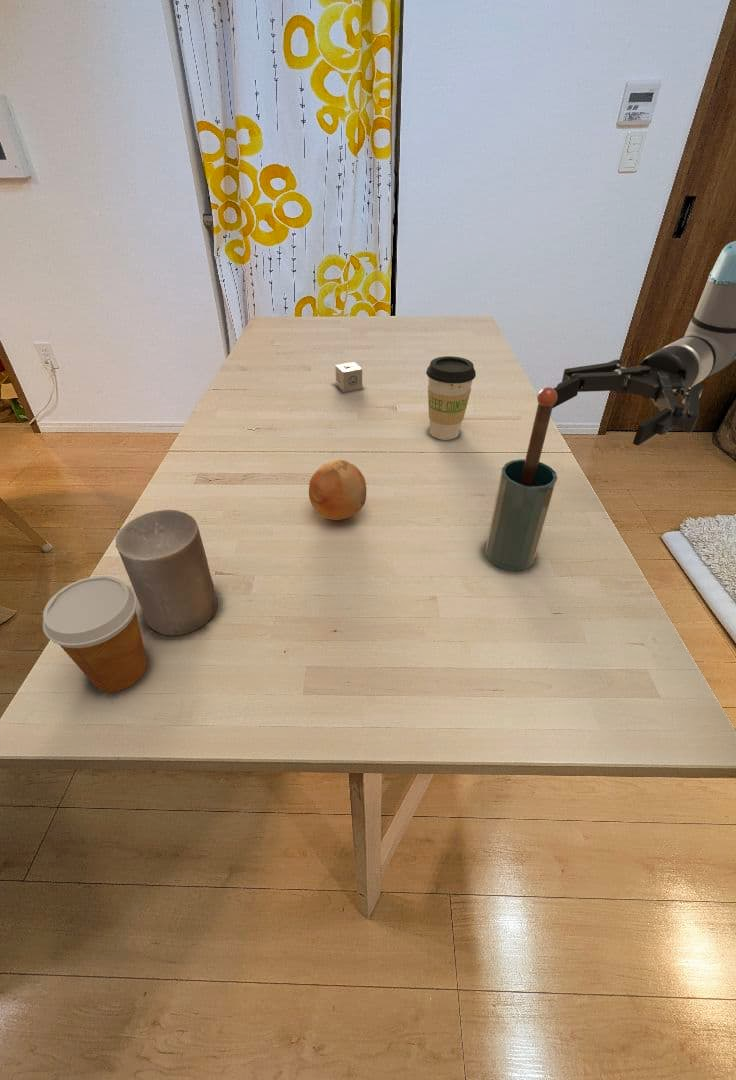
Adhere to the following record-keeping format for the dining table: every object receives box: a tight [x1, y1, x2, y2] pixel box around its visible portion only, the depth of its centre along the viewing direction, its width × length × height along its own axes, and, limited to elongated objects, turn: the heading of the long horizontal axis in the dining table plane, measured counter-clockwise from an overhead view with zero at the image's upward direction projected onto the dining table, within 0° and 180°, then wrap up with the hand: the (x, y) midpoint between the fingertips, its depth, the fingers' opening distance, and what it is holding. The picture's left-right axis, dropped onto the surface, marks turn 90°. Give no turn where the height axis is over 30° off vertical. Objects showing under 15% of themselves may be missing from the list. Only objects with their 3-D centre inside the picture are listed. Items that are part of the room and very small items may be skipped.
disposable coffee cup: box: [42, 575, 148, 693], centre depth 60 cm, size 10×10×12 cm
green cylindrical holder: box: [485, 458, 558, 572], centre depth 76 cm, size 7×7×15 cm
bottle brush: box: [520, 386, 558, 486], centre depth 72 cm, size 4×4×26 cm
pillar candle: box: [114, 509, 219, 637], centre depth 67 cm, size 10×10×15 cm
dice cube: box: [334, 361, 363, 393], centre depth 128 cm, size 5×5×5 cm
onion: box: [308, 459, 367, 521], centre depth 86 cm, size 10×10×10 cm
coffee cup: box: [425, 355, 477, 441], centre depth 107 cm, size 10×10×15 cm
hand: (591, 416), depth 70 cm, fingers open, 13 cm apart
